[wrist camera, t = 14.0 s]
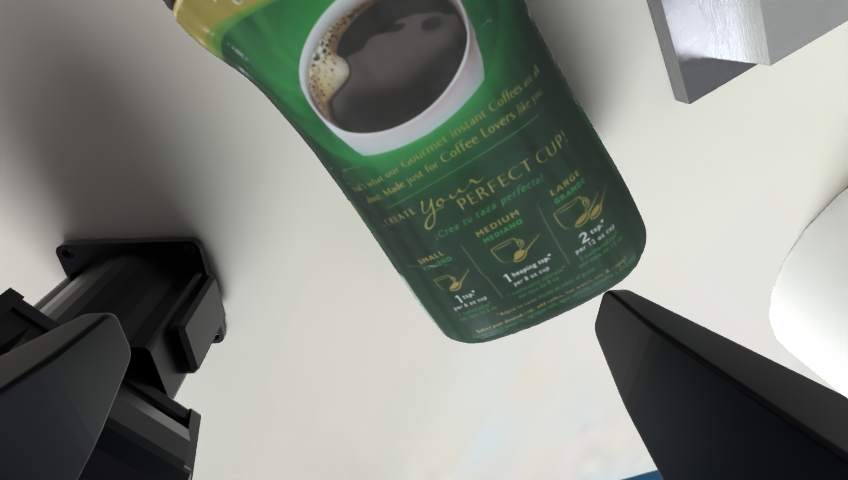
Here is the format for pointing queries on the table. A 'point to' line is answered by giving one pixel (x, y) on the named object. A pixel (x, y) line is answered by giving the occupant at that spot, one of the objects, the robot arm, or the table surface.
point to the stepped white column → (817, 296)
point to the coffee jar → (444, 147)
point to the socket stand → (734, 36)
